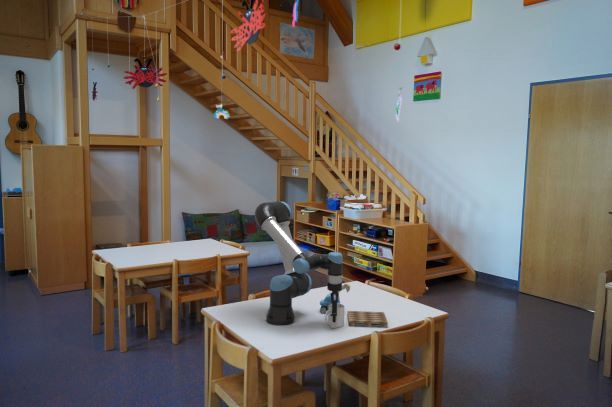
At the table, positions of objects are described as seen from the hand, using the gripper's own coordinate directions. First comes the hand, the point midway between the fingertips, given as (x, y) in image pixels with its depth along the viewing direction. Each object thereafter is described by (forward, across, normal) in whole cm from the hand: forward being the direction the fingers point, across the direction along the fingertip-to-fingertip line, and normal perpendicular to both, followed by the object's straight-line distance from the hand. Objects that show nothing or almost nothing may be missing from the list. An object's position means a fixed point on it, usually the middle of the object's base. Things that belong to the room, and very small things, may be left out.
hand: (333, 324), depth 257 cm
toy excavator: (+1, +21, -1) cm, 21 cm away
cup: (0, -1, 0) cm, 1 cm away
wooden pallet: (0, +7, -18) cm, 19 cm away
